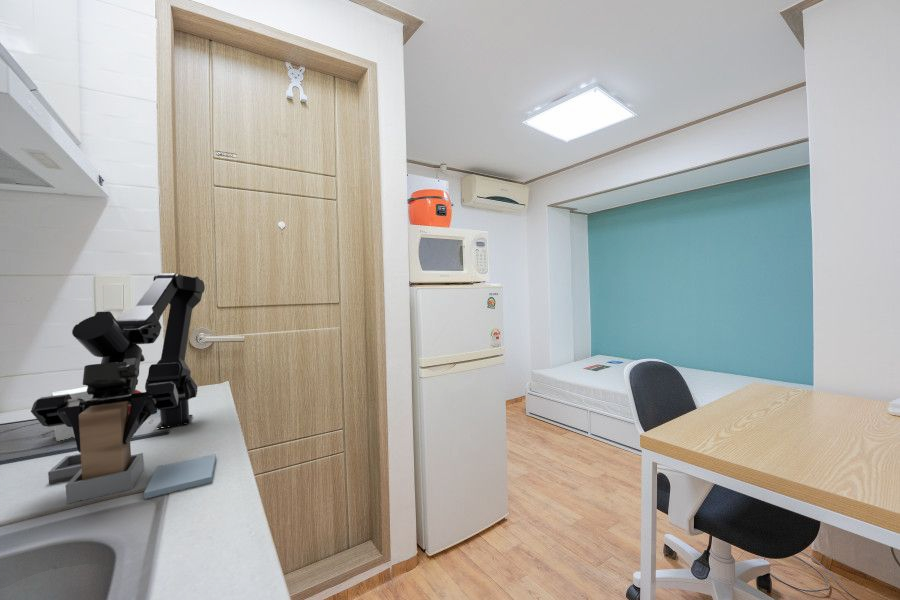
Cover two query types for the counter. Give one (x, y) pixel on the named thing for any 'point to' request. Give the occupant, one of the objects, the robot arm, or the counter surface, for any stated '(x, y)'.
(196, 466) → the pad
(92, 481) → the sleeve
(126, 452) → the walnut block
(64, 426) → the small box
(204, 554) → the counter surface
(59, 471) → the tray
